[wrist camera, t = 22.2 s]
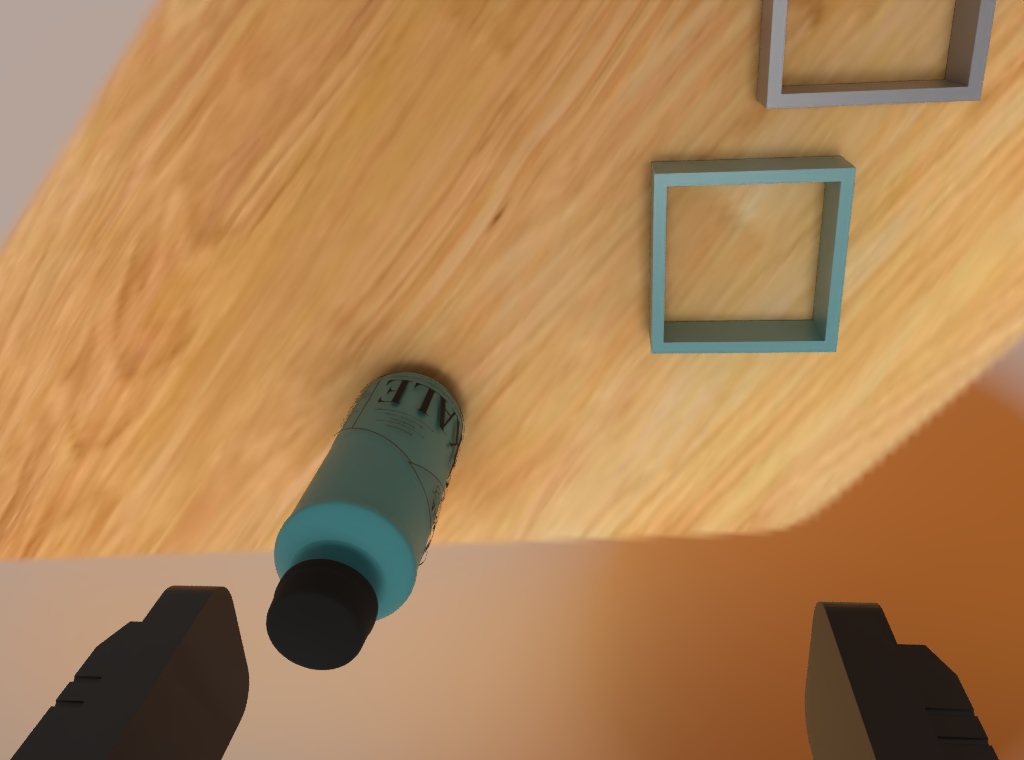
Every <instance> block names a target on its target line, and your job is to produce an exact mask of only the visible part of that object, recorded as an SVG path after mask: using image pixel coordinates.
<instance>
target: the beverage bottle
mask: <svg viewBox="0 0 1024 760" xmlns="http://www.w3.org/2000/svg"><path fill="white" fill-rule="evenodd" d="M373 381H374V380H373ZM370 383H371V382H370ZM367 385H368V384H367ZM367 385H366V386H367ZM361 391H363V390H361ZM360 396H361V397H360V398H359V400H358V402H357V403H356V405H355V407H354V409H353V410H352V412H350V413H351V414H350V413H349V415H347V414H346V415H347V416H349V417H348V418H347V420H346V422H345V424H344V426H343V427H342V429H341V431H339V434H338V436H337V437H336V439H335V441H334V443H333V445H332V447H331V449H330V451H329V453H328V454H327V456H326V458H325V459H324V461H323V463H322V464H321V466H320V468H319V469H318V471H317V473H316V474H315V476H314V478H313V479H312V481H311V483H310V484H309V486H308V488H307V489H306V491H305V493H304V494H303V496H302V498H301V499H300V501H299V503H298V504H297V506H296V508H295V509H294V511H293V513H292V514H291V516H290V517H289V518H288V519H287V520H286V521H285V523H284V524H283V526H282V528H281V529H280V531H279V533H278V536H277V538H276V543H275V549H274V559H275V566H276V570H277V573H278V576H279V578H280V582H279V584H278V586H277V588H276V590H275V594H274V598H273V601H272V603H271V605H270V608H269V610H268V613H267V620H266V626H267V632H268V635H269V637H270V640H271V642H272V644H273V645H274V646H275V648H276V649H277V650H278V651H279V652H280V653H281V654H282V655H283V656H284V657H286V658H287V659H288V660H290V661H292V662H293V663H295V664H298V665H300V666H303V667H306V668H309V669H315V670H330V669H335V668H339V667H341V666H344V665H346V664H347V663H349V662H350V661H352V660H353V659H354V658H355V657H356V656H357V654H358V653H359V652H360V650H361V648H362V646H363V644H364V642H365V640H366V638H367V636H368V635H369V633H370V632H371V630H372V628H373V626H374V624H375V621H376V620H379V619H382V618H384V617H386V616H388V615H390V614H392V613H393V612H395V611H396V610H397V609H398V608H399V607H401V606H402V605H403V603H404V602H405V601H406V600H407V598H408V597H409V595H410V594H411V592H412V589H413V587H414V584H415V581H416V576H417V569H418V566H419V563H420V561H421V559H422V556H423V554H424V552H425V549H426V550H427V548H428V547H429V545H427V546H428V547H427V548H426V544H427V541H428V538H429V535H431V531H433V530H431V529H432V526H433V523H435V524H436V522H435V521H434V520H437V517H439V516H436V514H438V513H437V511H439V510H438V507H439V505H441V504H440V503H441V502H443V500H444V499H445V497H444V496H443V497H444V499H443V500H442V501H441V498H443V497H442V495H443V492H444V494H445V492H446V491H444V489H446V488H445V486H446V487H447V486H448V484H449V483H447V479H448V477H450V478H451V475H450V473H451V470H452V468H453V466H454V464H456V463H455V461H457V460H455V459H457V458H456V456H457V453H458V449H459V446H460V443H461V440H462V427H463V424H462V417H463V415H462V417H461V414H462V413H460V411H461V410H459V409H460V408H459V406H458V404H457V402H456V401H455V399H454V398H453V396H452V395H451V393H450V392H449V391H448V390H447V389H446V388H445V387H444V386H443V385H441V384H440V383H439V382H437V381H436V380H434V379H432V378H430V377H428V376H425V375H422V374H418V373H412V372H398V373H392V374H390V375H389V374H387V376H385V375H384V377H383V376H381V378H380V379H378V380H376V381H375V382H373V383H371V385H369V386H367V388H366V390H364V392H363V393H362V395H360ZM356 399H357V398H356ZM356 399H355V400H356ZM356 401H357V400H356ZM356 401H355V402H356ZM354 404H355V403H354ZM352 405H353V404H352ZM349 410H350V409H349ZM348 412H349V411H348ZM343 420H344V419H343ZM463 421H464V419H463ZM342 423H343V422H342ZM340 425H341V424H340ZM341 426H342V425H341ZM341 426H340V427H341ZM337 430H338V429H337ZM463 431H465V426H464V430H463ZM463 433H464V432H463ZM336 434H337V433H336ZM336 434H334V436H335V435H336ZM463 439H464V438H463ZM462 442H463V441H462ZM460 448H461V447H460ZM459 450H460V449H459ZM457 457H458V456H457ZM453 462H454V463H453ZM452 464H453V466H452ZM451 467H452V468H451ZM454 467H455V466H454ZM450 478H449V479H450ZM449 481H450V480H449ZM447 488H448V487H447ZM446 490H448V489H446ZM445 496H446V495H445ZM440 501H441V502H440ZM439 508H440V507H439ZM440 509H441V508H440ZM439 513H440V512H439ZM435 517H436V519H435ZM435 527H436V526H434V527H433V529H434V531H435ZM434 531H433V532H434ZM433 534H434V533H433ZM432 537H433V536H432ZM432 537H431V538H432ZM430 541H431V540H429V542H430ZM430 543H431V542H430ZM430 543H429V544H430ZM422 563H423V562H422ZM422 563H421V564H422ZM421 564H420V565H421Z"/></svg>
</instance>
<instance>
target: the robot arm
mask: <svg viewBox="0 0 1024 760" xmlns="http://www.w3.org/2000/svg"><path fill="white" fill-rule="evenodd" d="M74 677H75V678H74V681H73V682H69V684H68V685H67V686H66V688H65V689H64V690H63V691H62V693H61V694H60V695H59V697H58V698H57V699H56V705H55V707H53V706H51V707H50V708H49V710H48V711H47V712H46V714H45V715H44V716H43V718H42V719H41V720H40V722H39V723H38V724H37V725H36V727H35V728H34V729H33V731H32V732H31V733H30V735H29V736H28V737H27V739H26V740H25V741H24V743H23V744H22V745H21V746H20V748H19V749H18V751H17V752H16V753H15V754H14V756H13V757H12V758H11V760H221V759H222V757H223V755H224V753H225V751H226V749H227V747H228V745H229V743H230V741H231V739H232V737H233V735H234V732H235V731H236V729H237V727H238V725H239V723H240V721H241V718H242V716H243V714H244V711H245V707H246V704H247V698H248V691H249V672H248V666H247V662H246V658H245V654H244V649H243V644H242V640H241V635H240V631H239V626H238V622H237V617H236V613H235V608H234V604H233V600H232V596H231V594H230V593H229V591H228V589H227V588H225V587H216V586H171V587H169V588H167V589H166V590H165V591H164V592H163V594H162V595H161V596H160V598H159V599H158V601H157V602H156V603H155V605H154V606H153V608H152V609H151V610H150V612H149V613H148V614H147V616H146V617H145V619H144V620H143V621H142V622H129V623H128V624H126V625H125V626H124V627H122V628H121V629H120V630H118V631H117V632H116V633H115V634H113V635H112V636H110V637H109V638H108V639H106V640H105V641H104V642H102V643H101V644H100V645H98V646H97V647H96V648H95V650H94V651H93V652H92V653H91V655H90V656H89V657H88V659H87V660H86V661H85V663H84V664H83V665H82V667H81V668H80V669H79V671H78V672H77V673H76V675H75V676H74ZM805 716H806V726H807V733H808V739H809V743H810V747H811V751H812V755H813V759H814V760H999V759H998V757H997V755H996V753H995V751H994V749H993V747H992V746H989V744H988V737H987V735H986V733H985V731H984V729H983V727H982V725H981V723H980V721H979V719H978V717H977V716H974V709H973V707H972V705H971V703H970V701H969V699H968V697H967V695H966V693H965V691H964V689H963V687H962V685H961V683H960V681H959V678H958V676H957V675H956V674H955V673H954V672H953V671H952V670H951V669H950V668H949V667H947V665H946V664H945V663H943V662H942V661H941V660H940V659H939V658H938V657H937V656H936V655H935V654H934V653H933V652H932V651H931V650H930V649H929V648H927V647H926V646H925V645H905V644H903V645H902V644H897V642H896V640H895V638H894V635H893V633H892V631H891V628H890V626H889V624H888V621H887V619H886V617H885V614H884V612H883V610H882V608H881V607H880V605H879V604H877V603H857V602H818V603H817V604H816V606H815V610H814V617H813V625H812V634H811V643H810V652H809V661H808V670H807V679H806V689H805Z"/></svg>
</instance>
